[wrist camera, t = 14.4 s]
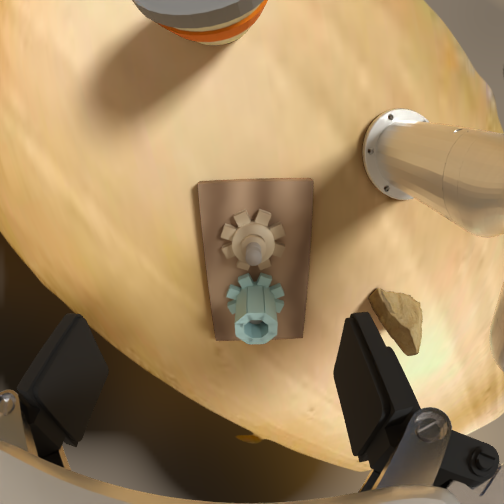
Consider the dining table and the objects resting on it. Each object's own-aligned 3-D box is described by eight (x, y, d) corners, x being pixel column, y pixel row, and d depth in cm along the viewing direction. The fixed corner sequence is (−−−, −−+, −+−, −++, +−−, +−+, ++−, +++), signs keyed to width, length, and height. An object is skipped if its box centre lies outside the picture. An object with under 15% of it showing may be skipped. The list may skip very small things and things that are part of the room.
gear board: (311, 178, 35) (324, 191, 28) (301, 331, 46) (307, 362, 39) (199, 181, 35) (188, 195, 28) (216, 334, 46) (212, 365, 39)
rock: (354, 310, 41) (376, 349, 43) (398, 316, 33) (416, 359, 36) (387, 264, 45) (405, 305, 47) (428, 263, 37) (443, 308, 40)
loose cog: (284, 271, 39) (290, 301, 32) (282, 317, 42) (287, 350, 36) (225, 273, 39) (220, 303, 33) (229, 319, 42) (226, 352, 36)
